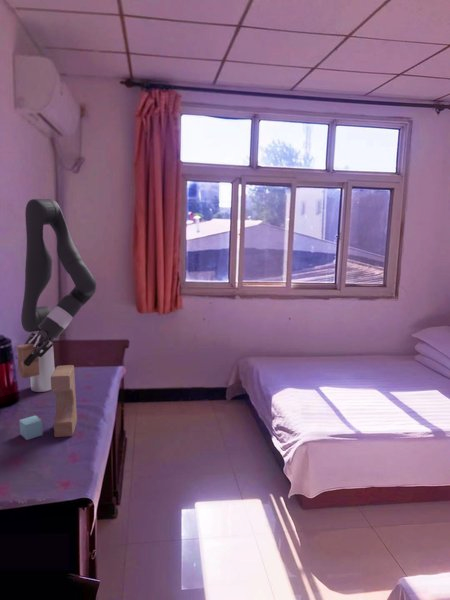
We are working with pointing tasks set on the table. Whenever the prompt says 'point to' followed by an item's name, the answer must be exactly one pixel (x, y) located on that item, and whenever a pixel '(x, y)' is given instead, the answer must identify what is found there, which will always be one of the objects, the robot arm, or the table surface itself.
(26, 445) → the table surface
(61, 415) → the decorative block
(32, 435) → the teal cube
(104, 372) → the table surface
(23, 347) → the tan long block
